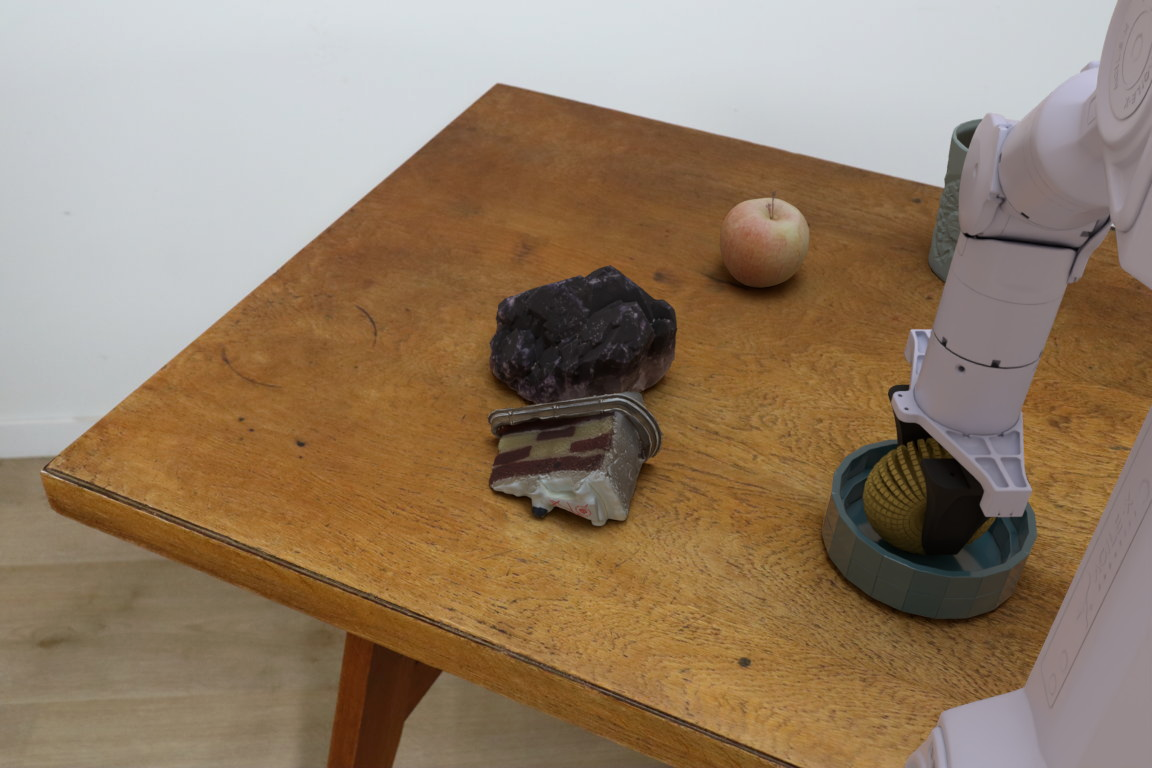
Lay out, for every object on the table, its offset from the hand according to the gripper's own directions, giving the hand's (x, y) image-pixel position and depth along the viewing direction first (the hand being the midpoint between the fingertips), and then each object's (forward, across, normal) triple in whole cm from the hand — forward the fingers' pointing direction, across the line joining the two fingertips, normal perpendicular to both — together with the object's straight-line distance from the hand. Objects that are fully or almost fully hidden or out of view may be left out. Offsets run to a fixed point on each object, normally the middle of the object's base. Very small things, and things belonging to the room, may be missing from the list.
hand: (927, 520), depth 68 cm
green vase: (+3, -34, +16) cm, 38 cm away
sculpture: (+2, 0, 0) cm, 2 cm away
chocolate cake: (+3, -6, -22) cm, 23 cm away
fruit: (+3, -32, -4) cm, 32 cm away
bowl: (+2, 0, 0) cm, 2 cm away
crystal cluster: (+3, -19, -20) cm, 28 cm away
